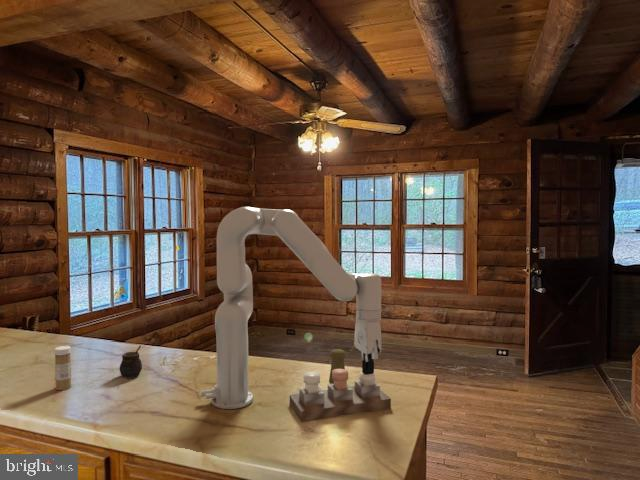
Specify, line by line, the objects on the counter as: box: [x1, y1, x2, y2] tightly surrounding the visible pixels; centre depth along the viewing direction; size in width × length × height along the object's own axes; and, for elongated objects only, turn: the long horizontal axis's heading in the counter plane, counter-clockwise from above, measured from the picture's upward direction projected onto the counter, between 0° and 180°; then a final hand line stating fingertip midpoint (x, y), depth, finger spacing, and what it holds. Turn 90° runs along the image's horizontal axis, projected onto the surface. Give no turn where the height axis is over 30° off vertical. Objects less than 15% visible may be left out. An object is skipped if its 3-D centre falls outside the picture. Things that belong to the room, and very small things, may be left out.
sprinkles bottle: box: [53, 345, 72, 391], centre depth 140 cm, size 5×5×13 cm
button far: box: [358, 370, 376, 386], centre depth 132 cm, size 5×5×5 cm
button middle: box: [332, 368, 349, 390], centre depth 129 cm, size 5×5×5 cm
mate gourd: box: [119, 345, 143, 379], centre depth 152 cm, size 7×8×10 cm
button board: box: [289, 379, 392, 423], centre depth 129 cm, size 28×12×6 cm, turn 110°
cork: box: [328, 348, 346, 384], centre depth 149 cm, size 6×6×11 cm
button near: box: [303, 371, 321, 394], centre depth 126 cm, size 5×5×5 cm
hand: (368, 373), depth 132 cm, fingers closed
